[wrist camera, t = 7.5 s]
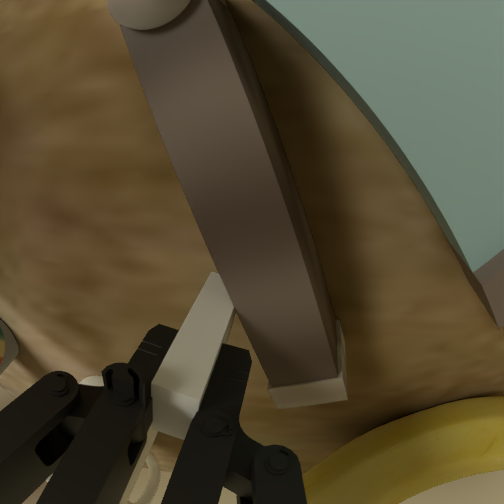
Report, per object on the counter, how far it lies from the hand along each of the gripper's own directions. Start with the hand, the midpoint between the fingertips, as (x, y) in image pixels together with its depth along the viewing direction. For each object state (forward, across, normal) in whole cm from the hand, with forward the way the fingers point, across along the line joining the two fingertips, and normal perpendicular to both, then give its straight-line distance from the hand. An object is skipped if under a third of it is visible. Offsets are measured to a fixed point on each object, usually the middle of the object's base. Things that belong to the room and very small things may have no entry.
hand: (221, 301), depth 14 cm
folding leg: (+2, 0, -5) cm, 6 cm away
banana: (+3, -15, +9) cm, 18 cm away
